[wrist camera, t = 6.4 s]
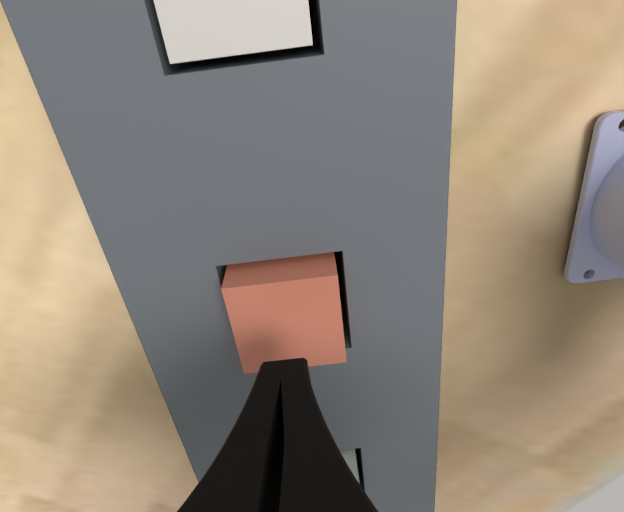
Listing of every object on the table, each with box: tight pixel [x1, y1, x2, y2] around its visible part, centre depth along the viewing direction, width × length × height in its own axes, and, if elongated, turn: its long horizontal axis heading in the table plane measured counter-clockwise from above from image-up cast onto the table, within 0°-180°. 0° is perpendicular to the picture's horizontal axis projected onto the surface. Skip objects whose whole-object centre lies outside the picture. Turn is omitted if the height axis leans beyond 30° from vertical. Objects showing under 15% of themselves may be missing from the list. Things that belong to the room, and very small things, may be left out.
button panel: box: [0, 0, 457, 512], centre depth 18 cm, size 12×32×4 cm, turn 7°
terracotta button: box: [221, 252, 347, 374], centre depth 17 cm, size 4×4×4 cm
